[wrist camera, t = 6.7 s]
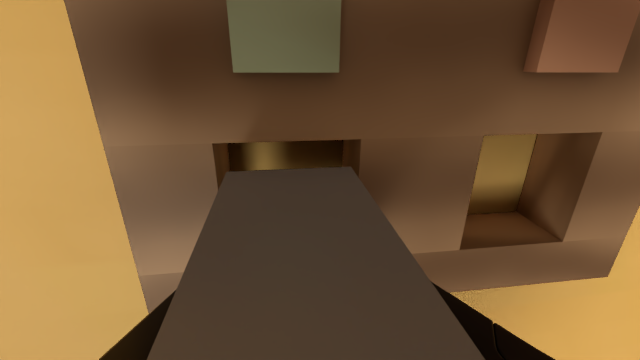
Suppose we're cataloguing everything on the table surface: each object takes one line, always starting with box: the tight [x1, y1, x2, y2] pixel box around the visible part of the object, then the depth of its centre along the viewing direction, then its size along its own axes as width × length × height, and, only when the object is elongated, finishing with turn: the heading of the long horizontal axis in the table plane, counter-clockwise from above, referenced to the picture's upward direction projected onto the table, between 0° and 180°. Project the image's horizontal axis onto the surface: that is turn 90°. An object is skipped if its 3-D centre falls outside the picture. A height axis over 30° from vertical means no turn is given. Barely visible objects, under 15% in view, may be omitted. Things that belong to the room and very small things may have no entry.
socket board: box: [64, 0, 640, 313], centre depth 13 cm, size 14×22×4 cm, turn 90°
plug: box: [147, 167, 485, 360], centre depth 7 cm, size 4×4×8 cm
